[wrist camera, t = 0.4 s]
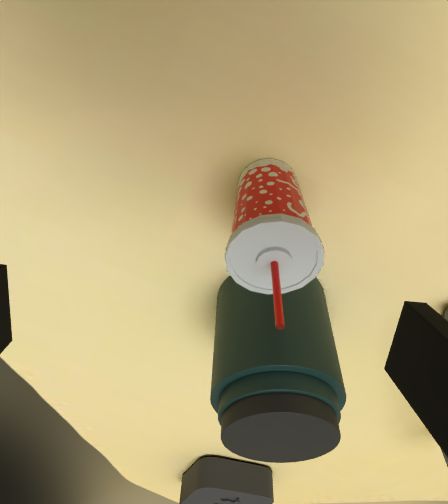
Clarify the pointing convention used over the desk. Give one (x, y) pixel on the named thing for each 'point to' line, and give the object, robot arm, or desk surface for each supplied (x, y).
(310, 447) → the green lidded canister
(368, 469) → the desk surface
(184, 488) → the streaming box
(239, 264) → the beverage cup
